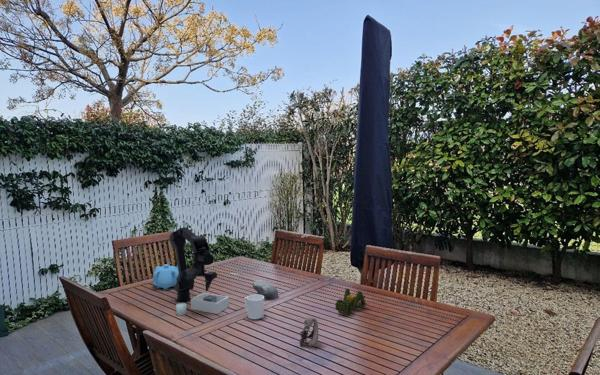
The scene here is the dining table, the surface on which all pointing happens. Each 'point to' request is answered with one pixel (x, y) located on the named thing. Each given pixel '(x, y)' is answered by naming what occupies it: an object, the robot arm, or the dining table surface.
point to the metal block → (210, 298)
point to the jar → (180, 309)
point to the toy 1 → (314, 333)
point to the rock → (265, 289)
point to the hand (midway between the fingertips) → (199, 290)
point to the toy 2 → (350, 302)
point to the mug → (255, 306)
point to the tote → (210, 303)
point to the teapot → (165, 276)
